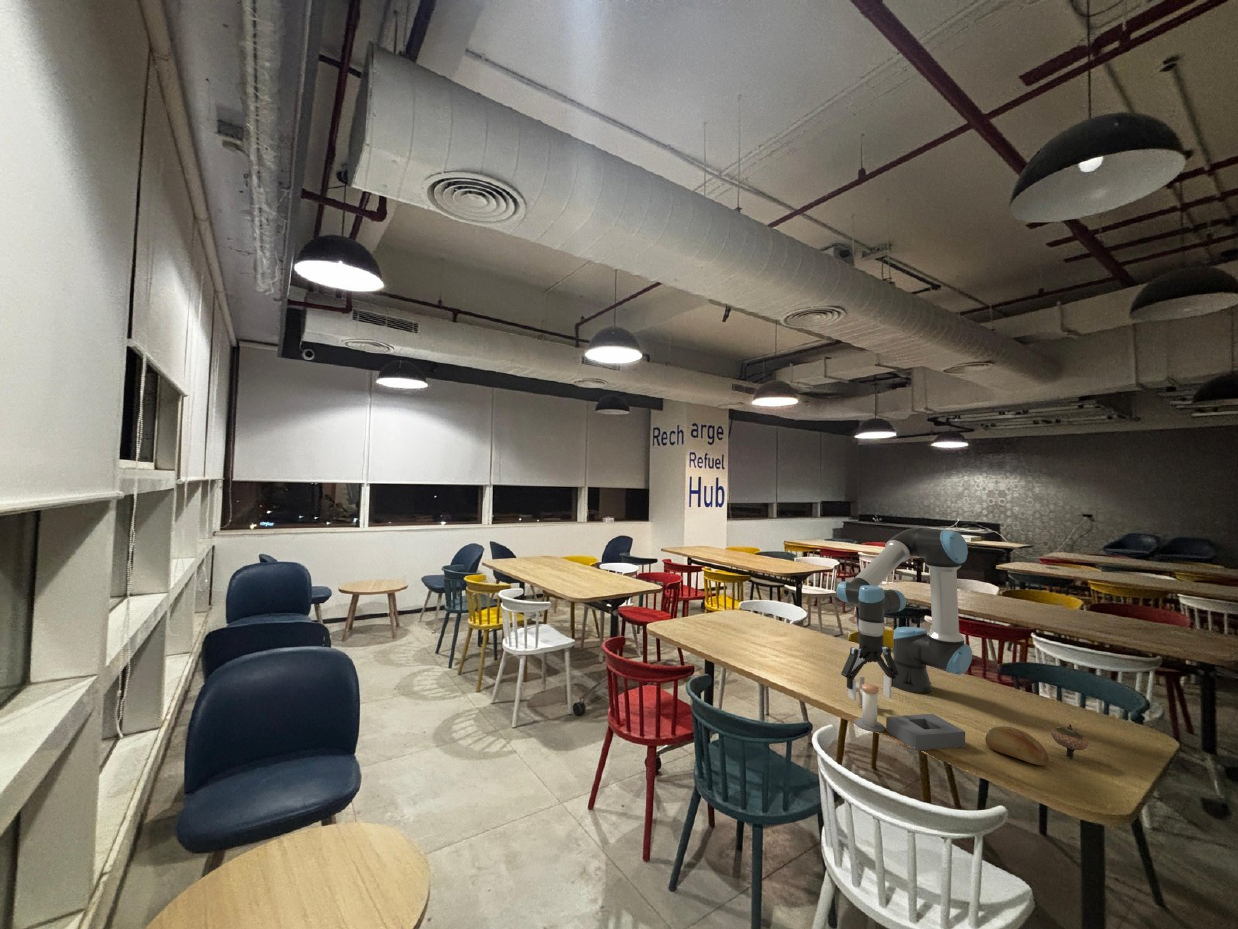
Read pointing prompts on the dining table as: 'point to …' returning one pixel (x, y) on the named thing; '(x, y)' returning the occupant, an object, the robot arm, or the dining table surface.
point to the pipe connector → (859, 688)
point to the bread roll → (1016, 745)
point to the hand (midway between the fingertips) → (869, 697)
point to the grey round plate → (873, 729)
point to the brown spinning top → (1069, 739)
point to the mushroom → (869, 705)
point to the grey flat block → (925, 731)
